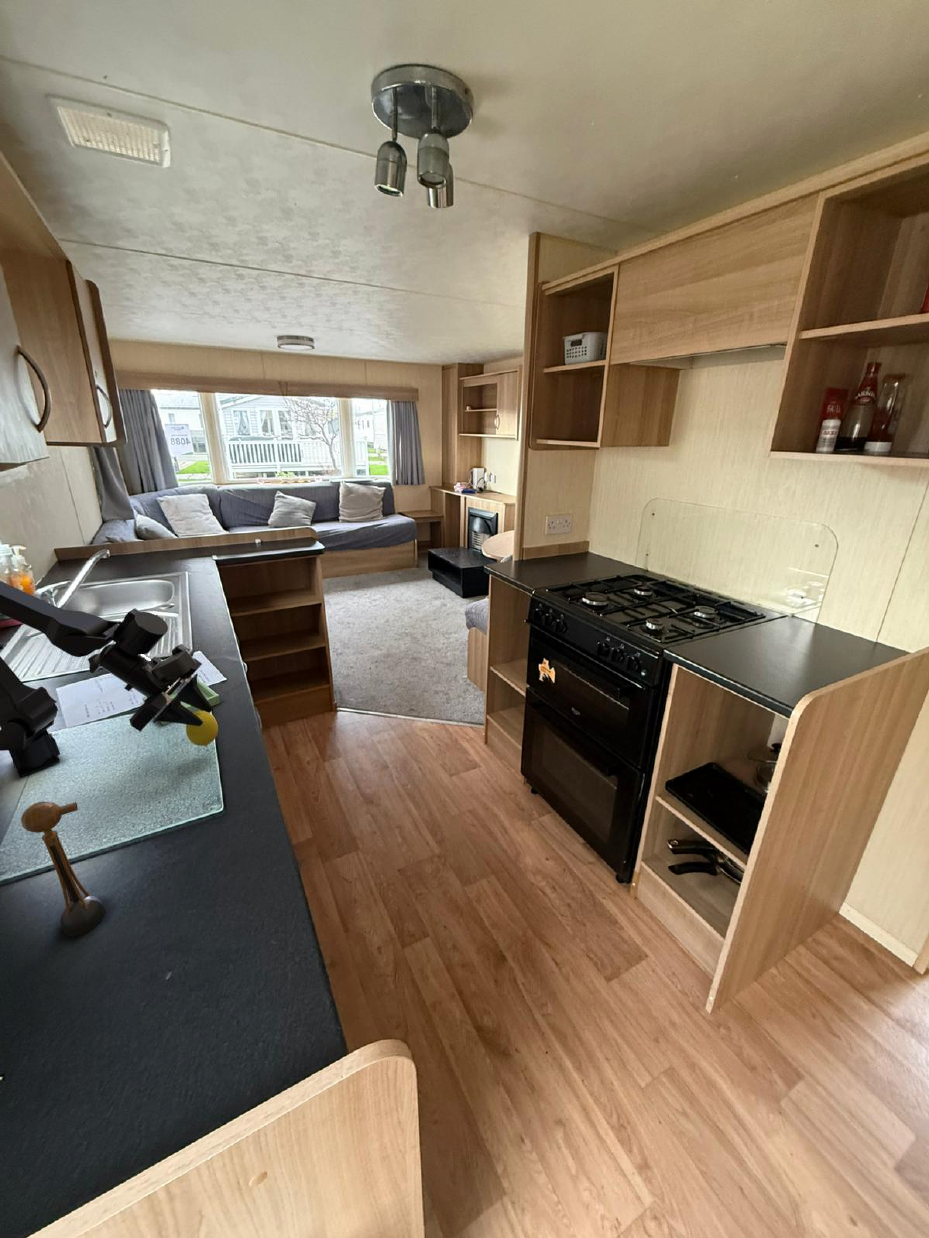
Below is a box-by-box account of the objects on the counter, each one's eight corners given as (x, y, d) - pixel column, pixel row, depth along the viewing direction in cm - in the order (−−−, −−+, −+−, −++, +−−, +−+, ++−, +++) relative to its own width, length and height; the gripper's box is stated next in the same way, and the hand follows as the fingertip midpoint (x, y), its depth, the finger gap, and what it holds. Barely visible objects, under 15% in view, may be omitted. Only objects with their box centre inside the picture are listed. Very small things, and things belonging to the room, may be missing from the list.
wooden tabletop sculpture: (114, 894, 72) (73, 783, 65) (114, 919, 68) (70, 804, 61) (64, 914, 69) (14, 800, 62) (60, 942, 66) (7, 824, 58)
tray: (163, 725, 112) (161, 717, 111) (144, 705, 120) (142, 697, 119) (220, 702, 120) (218, 695, 120) (199, 685, 128) (197, 678, 127)
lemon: (226, 738, 103) (219, 704, 100) (211, 755, 98) (203, 720, 95) (200, 736, 103) (193, 703, 100) (184, 753, 98) (175, 718, 95)
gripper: (131, 663, 83) (212, 718, 88) (182, 621, 100) (247, 668, 105) (94, 705, 85) (175, 756, 90) (150, 657, 103) (216, 702, 108)
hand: (206, 717), depth 98 cm, fingers closed on lemon, 4 cm apart
